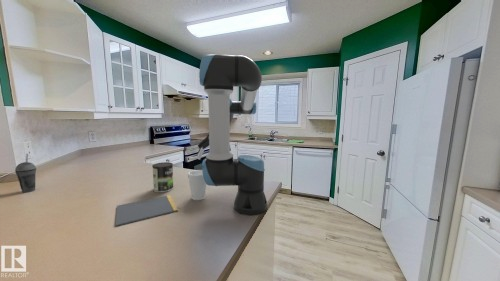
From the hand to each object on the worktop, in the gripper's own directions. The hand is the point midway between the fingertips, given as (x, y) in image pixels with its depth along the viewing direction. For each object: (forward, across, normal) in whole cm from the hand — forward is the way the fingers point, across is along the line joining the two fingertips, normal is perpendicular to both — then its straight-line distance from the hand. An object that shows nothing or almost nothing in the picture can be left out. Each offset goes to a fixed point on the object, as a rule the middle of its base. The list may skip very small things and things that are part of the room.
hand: (209, 159), depth 104 cm
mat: (+33, +14, +9) cm, 37 cm away
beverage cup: (+37, +88, +12) cm, 96 cm away
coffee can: (+18, +24, -7) cm, 31 cm away
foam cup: (+20, 0, -4) cm, 21 cm away
